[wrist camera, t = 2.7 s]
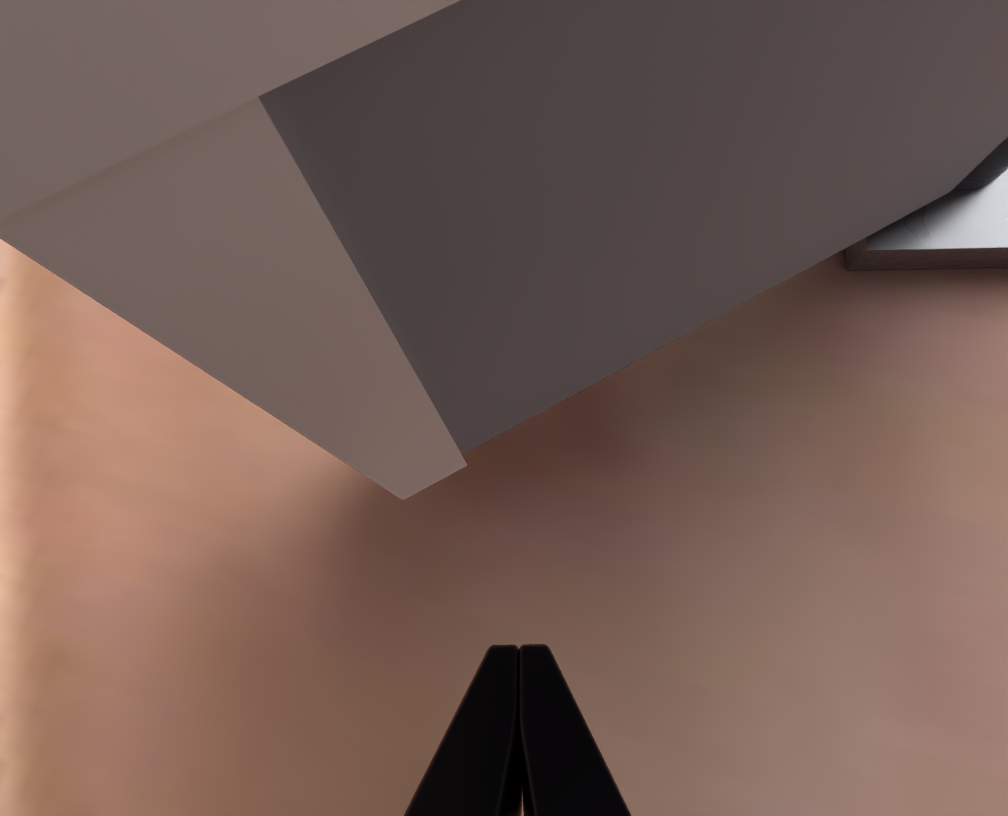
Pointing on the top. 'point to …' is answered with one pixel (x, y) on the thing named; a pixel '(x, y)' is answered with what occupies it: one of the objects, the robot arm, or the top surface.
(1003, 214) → the post
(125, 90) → the grey flat upright panel
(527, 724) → the robot arm
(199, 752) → the top surface
